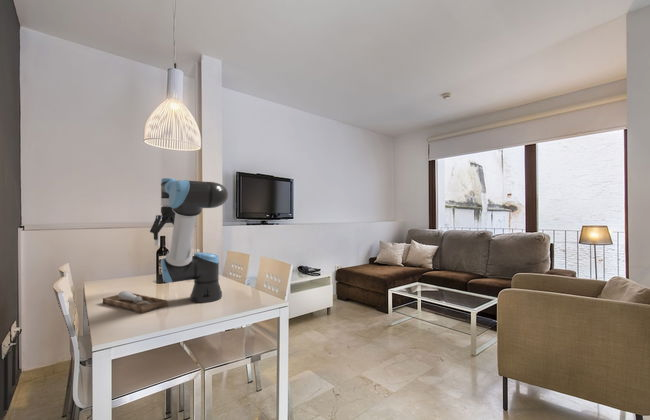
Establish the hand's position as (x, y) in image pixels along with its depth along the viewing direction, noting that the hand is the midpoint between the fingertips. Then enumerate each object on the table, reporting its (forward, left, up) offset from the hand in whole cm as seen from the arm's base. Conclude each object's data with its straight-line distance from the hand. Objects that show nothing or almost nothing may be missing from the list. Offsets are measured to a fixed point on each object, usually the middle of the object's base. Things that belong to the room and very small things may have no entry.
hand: (168, 244), depth 165 cm
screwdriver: (-8, +23, -25) cm, 35 cm away
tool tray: (-7, +23, -26) cm, 35 cm away
